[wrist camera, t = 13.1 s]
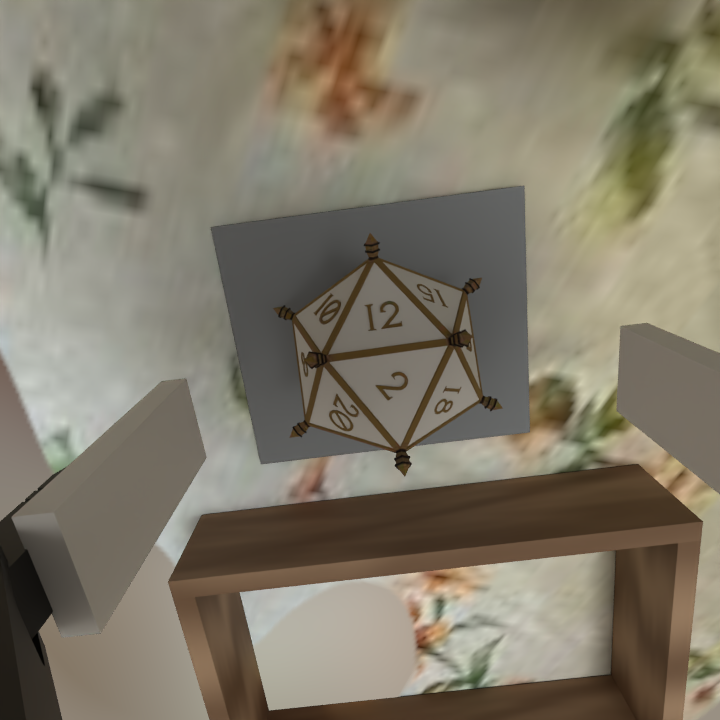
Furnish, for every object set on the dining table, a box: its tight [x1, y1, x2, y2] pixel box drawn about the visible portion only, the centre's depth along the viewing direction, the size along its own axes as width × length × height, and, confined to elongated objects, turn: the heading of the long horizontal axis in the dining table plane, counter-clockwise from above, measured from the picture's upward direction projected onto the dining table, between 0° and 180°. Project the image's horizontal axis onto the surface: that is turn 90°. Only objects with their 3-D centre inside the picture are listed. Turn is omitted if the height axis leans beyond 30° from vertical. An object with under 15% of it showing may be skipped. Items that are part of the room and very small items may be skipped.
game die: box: [273, 233, 503, 476], centre depth 19 cm, size 9×8×10 cm
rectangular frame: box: [168, 464, 703, 720], centre depth 26 cm, size 16×24×5 cm, turn 97°
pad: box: [211, 186, 530, 464], centre depth 23 cm, size 12×14×1 cm
